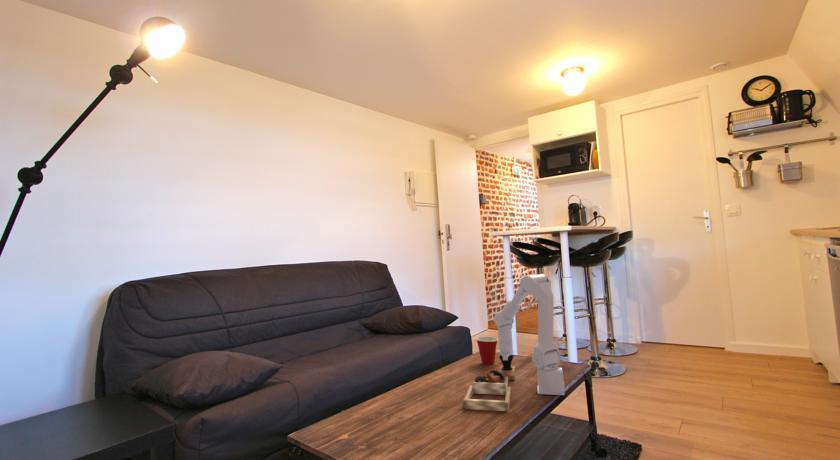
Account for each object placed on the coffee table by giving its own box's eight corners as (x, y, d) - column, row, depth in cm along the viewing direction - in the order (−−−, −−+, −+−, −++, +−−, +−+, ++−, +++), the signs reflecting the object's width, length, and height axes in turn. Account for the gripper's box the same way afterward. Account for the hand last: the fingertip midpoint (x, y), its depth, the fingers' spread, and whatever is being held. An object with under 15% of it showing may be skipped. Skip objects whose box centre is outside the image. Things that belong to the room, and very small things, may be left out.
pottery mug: (492, 384, 159) (500, 368, 157) (503, 401, 151) (511, 385, 149) (467, 382, 155) (475, 365, 152) (477, 400, 146) (485, 383, 144)
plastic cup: (504, 363, 185) (503, 337, 186) (487, 367, 180) (485, 341, 180) (489, 358, 195) (488, 334, 195) (472, 362, 189) (471, 337, 190)
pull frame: (515, 375, 167) (514, 365, 167) (512, 395, 145) (512, 384, 145) (480, 374, 171) (480, 364, 171) (473, 393, 149) (472, 382, 149)
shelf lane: (510, 393, 147) (510, 385, 148) (508, 411, 132) (508, 402, 132) (470, 391, 152) (469, 383, 152) (463, 408, 136) (463, 400, 136)
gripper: (497, 336, 175) (499, 367, 174) (494, 344, 161) (496, 378, 160) (513, 336, 173) (515, 367, 172) (511, 344, 159) (514, 378, 158)
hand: (507, 372), depth 166 cm, fingers closed
